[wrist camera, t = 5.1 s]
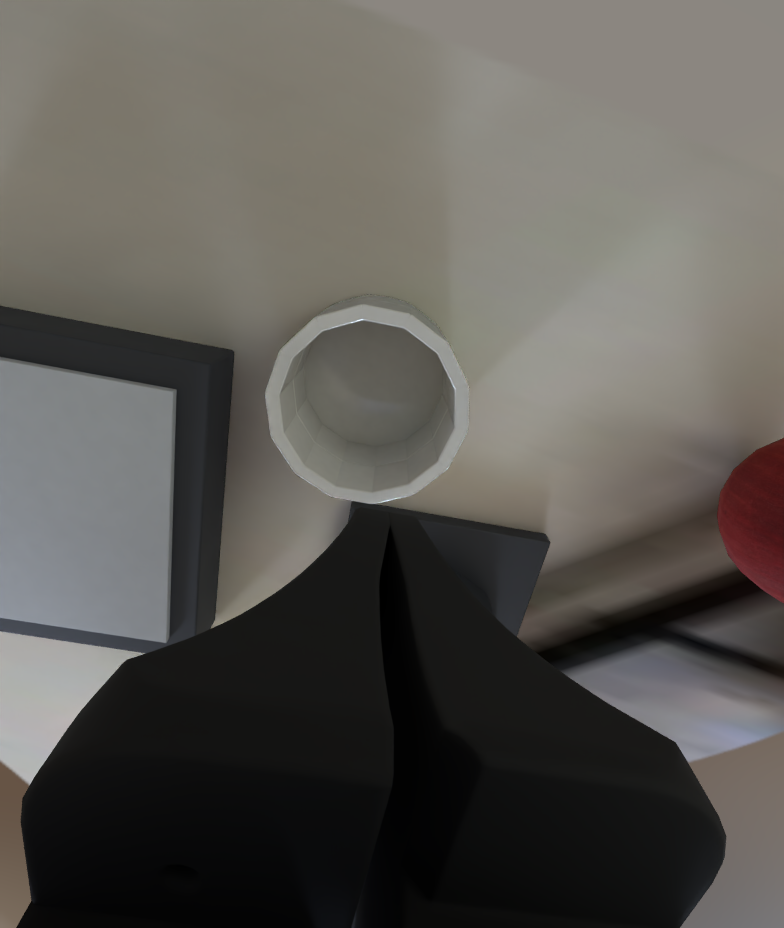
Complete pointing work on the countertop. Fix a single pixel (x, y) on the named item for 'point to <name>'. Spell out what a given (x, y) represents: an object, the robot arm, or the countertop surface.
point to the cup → (368, 400)
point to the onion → (756, 518)
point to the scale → (109, 482)
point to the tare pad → (486, 560)
